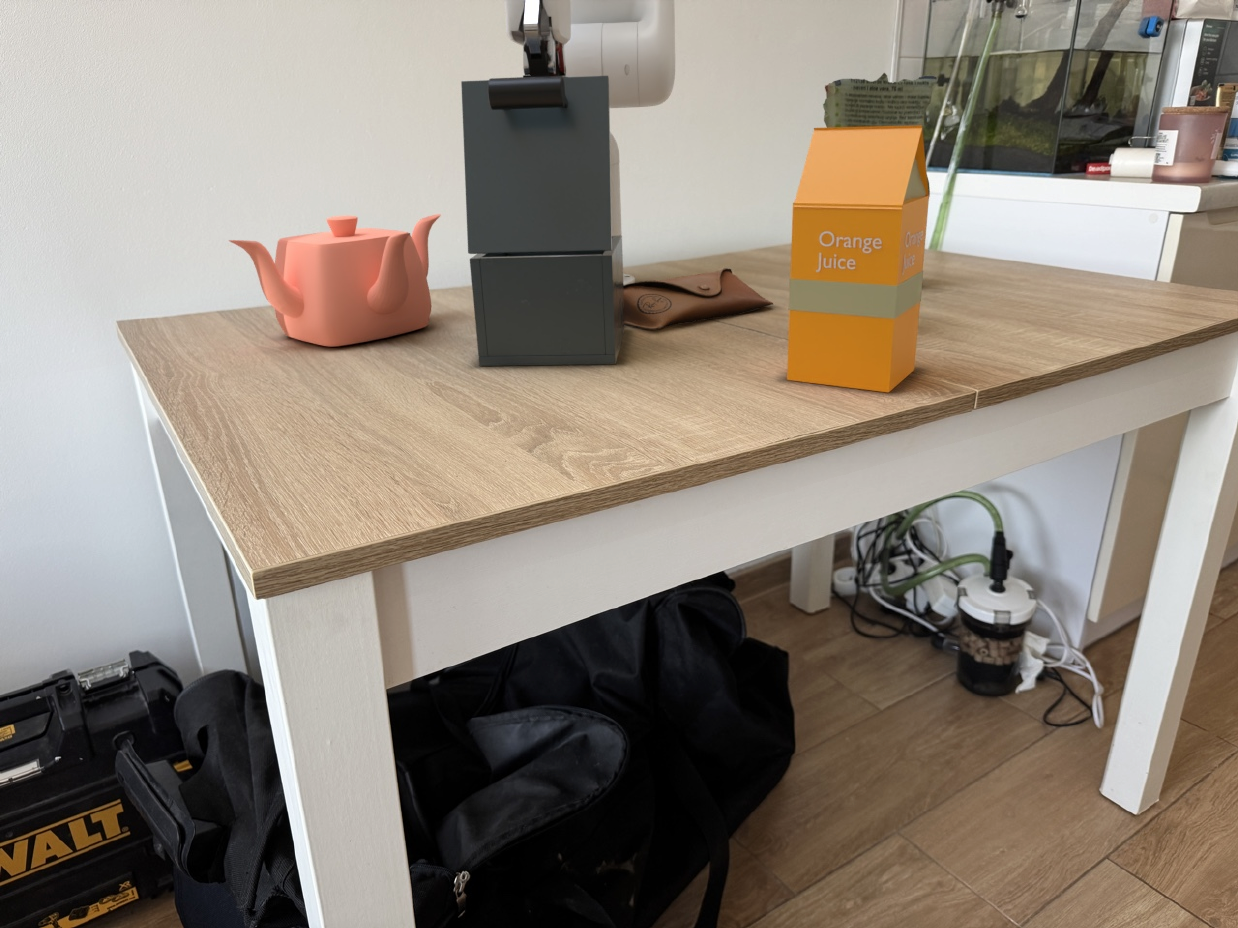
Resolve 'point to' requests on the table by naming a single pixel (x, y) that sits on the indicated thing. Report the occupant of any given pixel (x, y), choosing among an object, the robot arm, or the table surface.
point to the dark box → (549, 307)
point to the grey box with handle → (537, 164)
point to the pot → (347, 281)
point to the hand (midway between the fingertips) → (548, 119)
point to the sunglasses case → (688, 299)
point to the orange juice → (858, 257)
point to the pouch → (878, 102)
